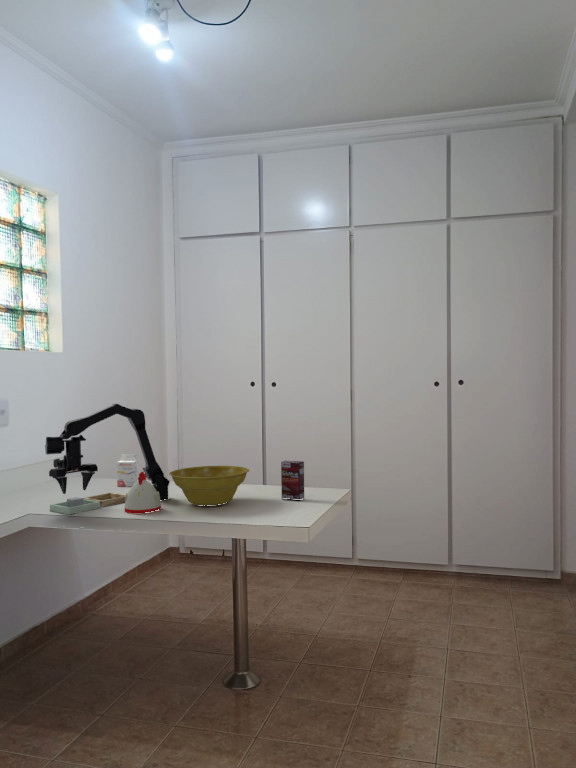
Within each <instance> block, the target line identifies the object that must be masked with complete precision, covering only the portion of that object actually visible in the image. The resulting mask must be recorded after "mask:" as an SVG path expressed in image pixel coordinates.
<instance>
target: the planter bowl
mask: <svg viewBox="0 0 576 768" xmlns="http://www.w3.org/2000/svg"><path fill="white" fill-rule="evenodd" d="M248 472H250V469H249V468H247V467H244V466H238V465H236V466H235V465H201V466H192V467H190V466H189V467H185V468H184V467H183V468H177V469H175V470H172V471H170V472H169V473H168V475H169V477H171V479H172V481H173V482H174V485H176V486H177V487H179V488H180V489H181V490H182V493H183V495H184V496H185V498H186V499H187V501H188V502H189V503H190V504H192V505H193V504H195V505H203V506H204V505H205V506H207V505H218V504H223V503H226V502H228V503H230V502H231V501H232V500H233V498H234V496H235V494H236V492H237V490H238V487H239V486H240V485H241V484H242V483H244V481H246V480H245V479H246V476H247V473H248ZM195 505H194V506H195Z"/></svg>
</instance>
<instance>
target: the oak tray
mask: <svg viewBox="0 0 576 768" xmlns="http://www.w3.org/2000/svg"><path fill="white" fill-rule="evenodd" d="M125 497H126V494H122V493H114V492H107V493H101V494H96V495H91V496H87V497H86V496H85V497H82V498H83V499H86V500H92V501H98V502H100V508H104V507H109V506H113V505H118V504H123V503H125Z"/></svg>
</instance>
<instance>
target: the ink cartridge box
mask: <svg viewBox="0 0 576 768" xmlns="http://www.w3.org/2000/svg"><path fill="white" fill-rule="evenodd" d="M137 458H138V457H137V454H134V453H132V454H130V453H129V454H127V453H124V454H123V453H122V454H120V458H119V459H120V460H118V461H116V482H117V487H128V486H133V485H134V484H135V483H136V482H138V459H137Z"/></svg>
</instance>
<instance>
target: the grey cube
mask: <svg viewBox="0 0 576 768" xmlns="http://www.w3.org/2000/svg"><path fill="white" fill-rule="evenodd" d="M83 498H84V497H79V496H78V497H77V496H76V497H71V498H66V501H67V507H75V506H80V505H84V501H83Z"/></svg>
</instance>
